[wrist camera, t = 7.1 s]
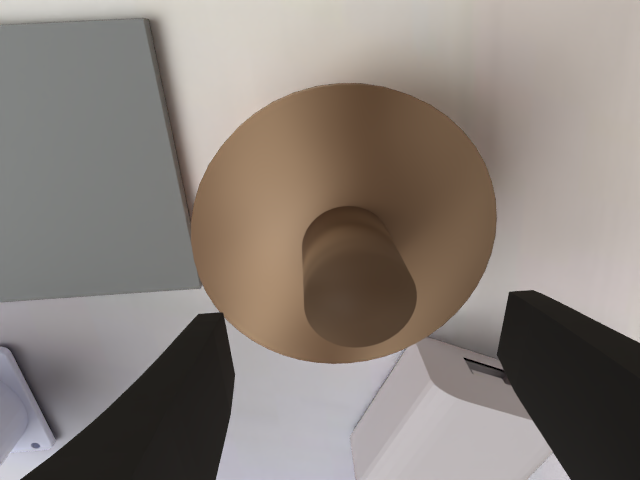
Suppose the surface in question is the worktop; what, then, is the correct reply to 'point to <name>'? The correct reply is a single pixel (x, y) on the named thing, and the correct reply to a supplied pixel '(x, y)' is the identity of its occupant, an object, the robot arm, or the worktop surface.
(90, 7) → the worktop surface
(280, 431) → the worktop surface
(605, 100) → the worktop surface
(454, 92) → the worktop surface
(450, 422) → the charger
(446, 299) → the lid
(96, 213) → the mat
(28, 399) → the robot arm
